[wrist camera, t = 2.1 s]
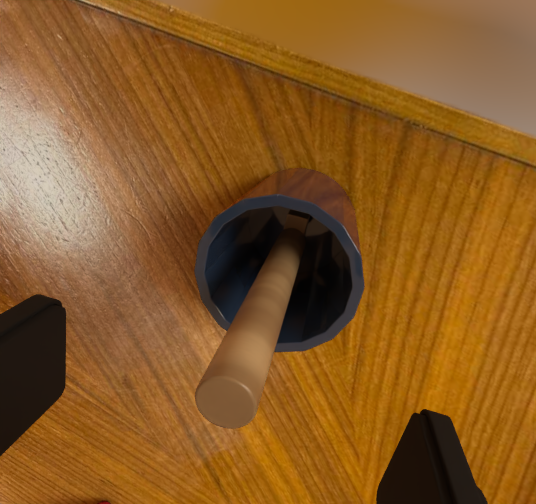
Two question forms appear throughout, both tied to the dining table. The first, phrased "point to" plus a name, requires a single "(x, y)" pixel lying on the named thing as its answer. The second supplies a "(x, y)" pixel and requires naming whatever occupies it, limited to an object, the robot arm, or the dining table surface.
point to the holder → (311, 265)
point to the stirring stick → (253, 334)
